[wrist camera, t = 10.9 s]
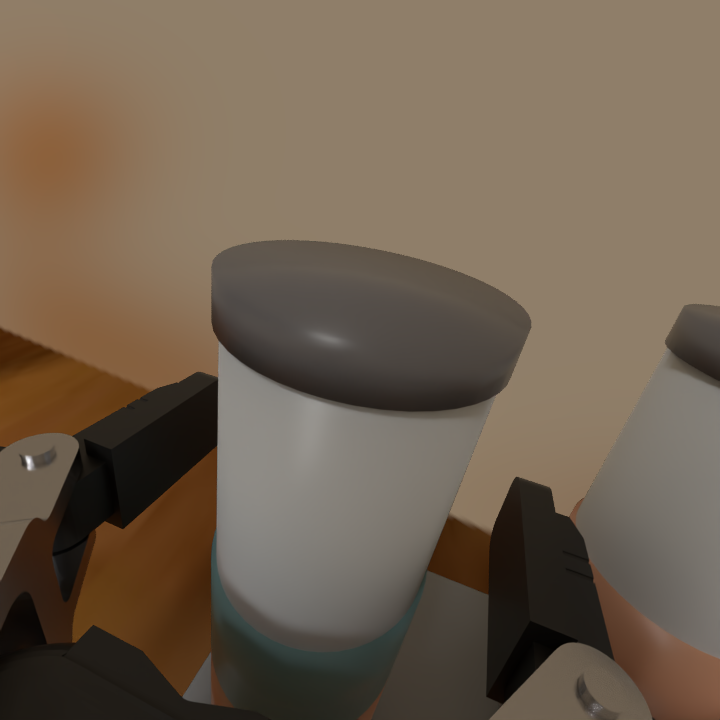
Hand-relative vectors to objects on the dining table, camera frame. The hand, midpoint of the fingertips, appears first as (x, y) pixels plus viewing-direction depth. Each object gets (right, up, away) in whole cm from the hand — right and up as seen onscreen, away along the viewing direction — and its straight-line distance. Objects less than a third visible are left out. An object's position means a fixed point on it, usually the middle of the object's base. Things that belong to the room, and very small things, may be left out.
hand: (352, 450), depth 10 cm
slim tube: (-2, -8, +2) cm, 8 cm away
